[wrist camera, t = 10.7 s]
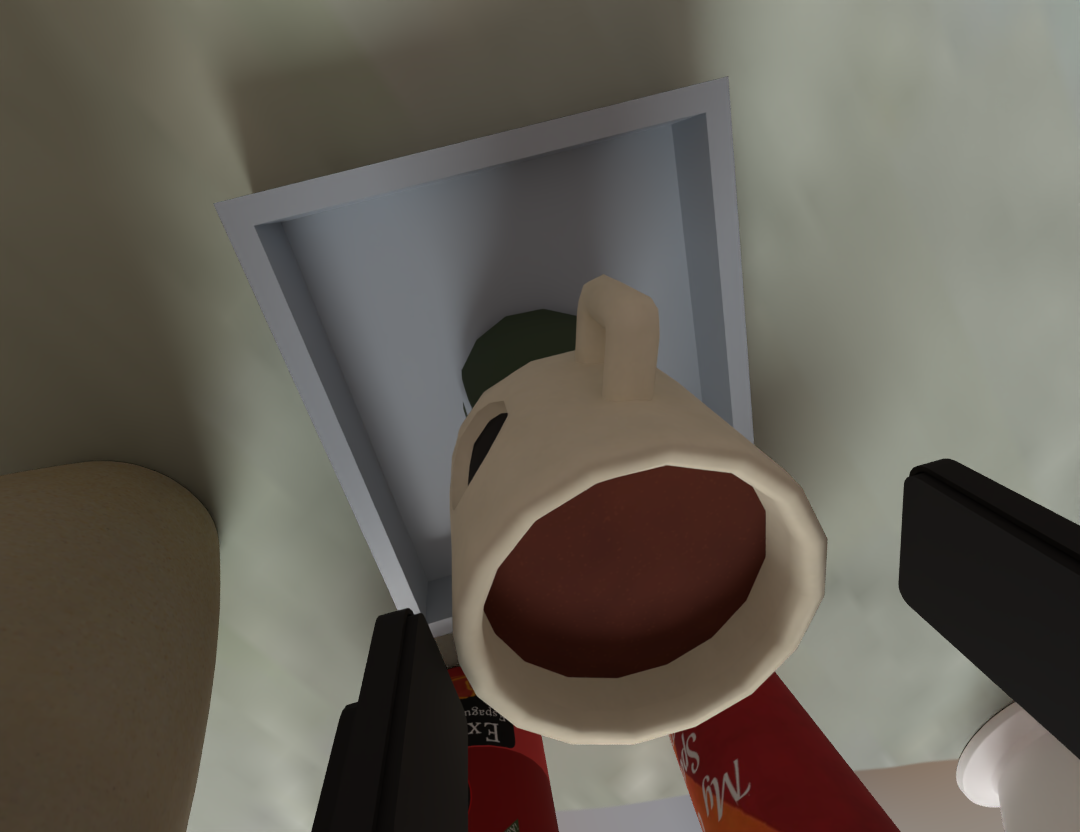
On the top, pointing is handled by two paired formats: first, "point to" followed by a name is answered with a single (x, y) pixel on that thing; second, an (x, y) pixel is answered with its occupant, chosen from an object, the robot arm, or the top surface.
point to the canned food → (503, 770)
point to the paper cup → (772, 771)
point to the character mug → (616, 533)
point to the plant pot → (103, 648)
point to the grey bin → (489, 290)
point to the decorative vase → (1022, 774)
